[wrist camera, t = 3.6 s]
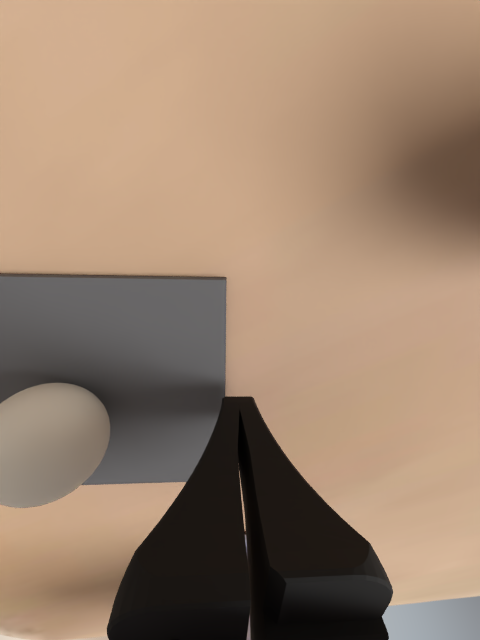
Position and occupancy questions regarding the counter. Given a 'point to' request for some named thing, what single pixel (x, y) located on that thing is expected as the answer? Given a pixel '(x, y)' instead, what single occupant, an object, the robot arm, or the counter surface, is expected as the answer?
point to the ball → (49, 442)
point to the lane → (124, 360)
